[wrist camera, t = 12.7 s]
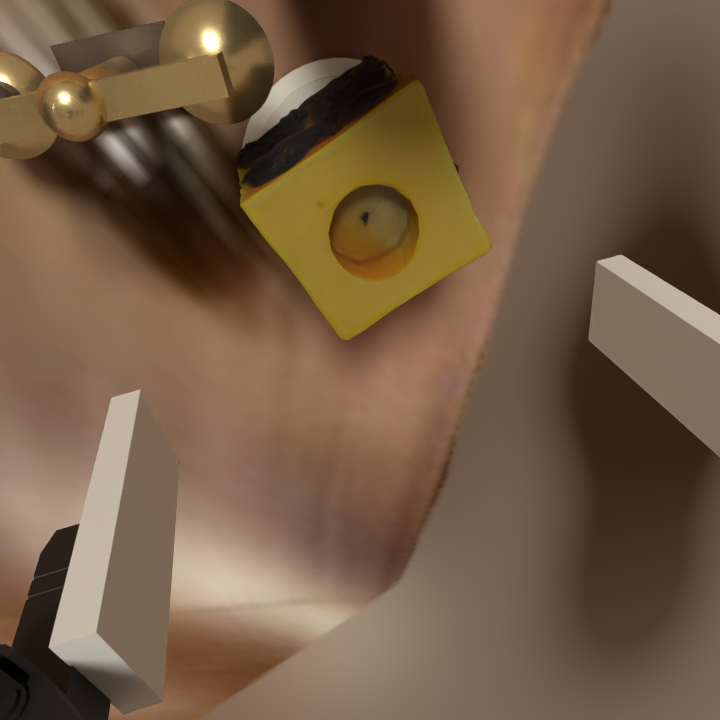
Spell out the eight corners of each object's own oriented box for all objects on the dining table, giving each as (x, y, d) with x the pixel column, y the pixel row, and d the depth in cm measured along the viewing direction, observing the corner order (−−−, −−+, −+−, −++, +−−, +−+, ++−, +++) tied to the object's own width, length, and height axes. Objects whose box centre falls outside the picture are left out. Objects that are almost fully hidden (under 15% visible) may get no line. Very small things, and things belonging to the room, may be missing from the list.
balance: (9, 151, 31) (-114, 233, 20) (-44, 55, 28) (-224, 87, 17) (274, 89, 32) (299, 133, 21) (249, -10, 29) (262, -21, 18)
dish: (272, 278, 39) (273, 285, 38) (212, 84, 31) (211, 86, 30) (440, 234, 39) (445, 240, 38) (421, 35, 32) (427, 36, 31)
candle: (370, 50, 31) (421, 66, 23) (441, 193, 36) (502, 247, 28) (230, 150, 32) (231, 199, 24) (319, 273, 38) (344, 346, 30)
